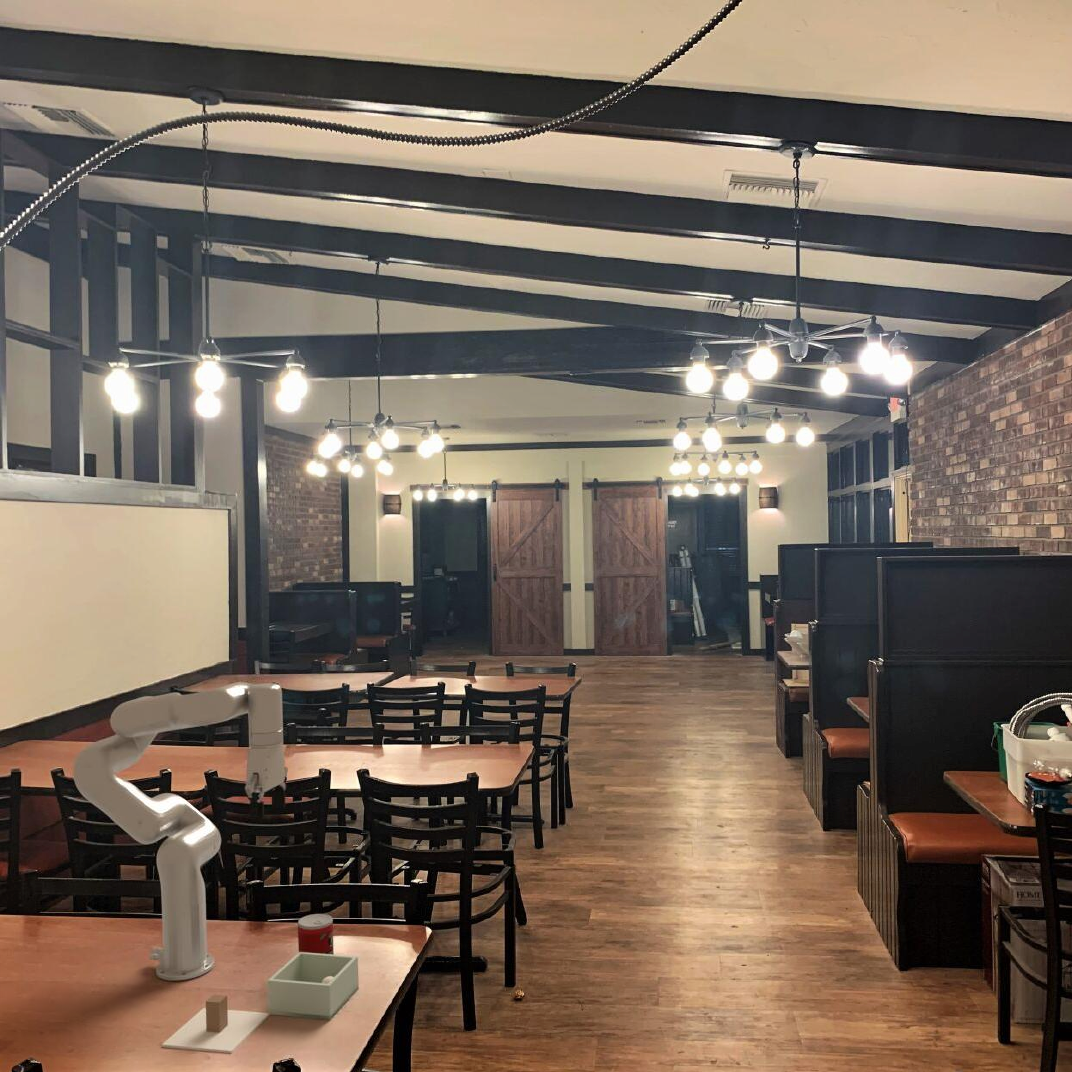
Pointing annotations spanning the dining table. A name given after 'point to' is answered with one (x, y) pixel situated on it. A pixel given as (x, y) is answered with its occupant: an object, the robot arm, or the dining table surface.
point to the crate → (313, 985)
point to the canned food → (316, 934)
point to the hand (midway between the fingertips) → (268, 813)
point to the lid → (216, 1028)
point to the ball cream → (327, 979)
